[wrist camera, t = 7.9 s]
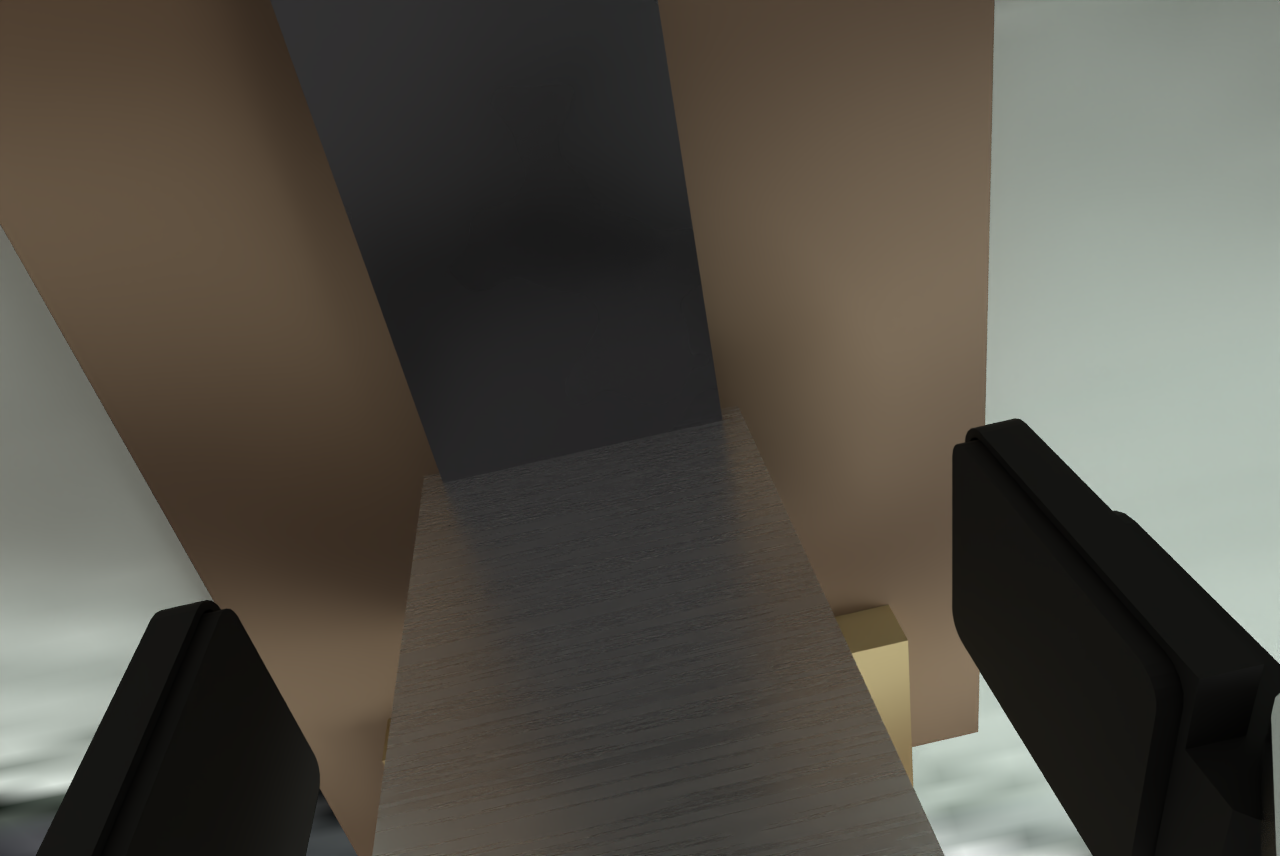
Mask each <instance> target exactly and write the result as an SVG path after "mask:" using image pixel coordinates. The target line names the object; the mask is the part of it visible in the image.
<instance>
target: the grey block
mask: <svg viewBox="0 0 1280 856" xmlns="http://www.w3.org/2000/svg"><path fill="white" fill-rule="evenodd" d="M270 1H271V4H272V7H273V9H274V12H275V15H276V18H277V21H278V23H279V26H280V29H281V32H282V35H283V37H284V40H285V43H286V46H287V48H288V51H289V54H290V57H291V60H292V62H293V65H294V68H295V71H296V74H297V76H298V79H299V82H300V85H301V88H302V90H303V93H304V96H305V99H306V102H307V104H308V107H309V110H310V113H311V116H312V118H313V121H314V124H315V127H316V130H317V132H318V135H319V138H320V141H321V143H322V146H323V149H324V152H325V155H326V157H327V160H328V163H329V166H330V169H331V171H332V174H333V177H334V180H335V183H336V185H337V188H338V191H339V194H340V197H341V199H342V202H343V205H344V208H345V211H346V213H347V216H348V219H349V222H350V225H351V227H352V230H353V233H354V236H355V238H356V241H357V244H358V247H359V250H360V252H361V255H362V258H363V261H364V264H365V266H366V269H367V272H368V275H369V278H370V280H371V283H372V286H373V289H374V292H375V294H376V297H377V300H378V303H379V306H380V308H381V311H382V314H383V317H384V320H385V322H386V325H387V328H388V331H389V333H390V336H391V339H392V342H393V345H394V347H395V350H396V353H397V356H398V359H399V361H400V364H401V367H402V370H403V373H404V375H405V378H406V381H407V384H408V387H409V389H410V392H411V395H412V398H413V401H414V403H415V406H416V409H417V412H418V415H419V417H420V420H421V423H422V426H423V428H424V431H425V434H426V437H427V440H428V442H429V445H430V448H431V451H432V454H433V456H434V459H435V462H436V465H437V468H438V470H439V473H435V474H430V475H426V476H424V481H423V489H422V496H421V503H420V511H419V518H418V525H417V532H416V540H415V547H414V554H413V562H412V569H411V576H410V584H409V591H408V598H407V605H406V613H405V620H404V627H403V635H402V642H401V649H400V656H399V664H398V671H397V678H396V686H395V693H394V700H393V707H392V715H391V722H390V729H389V737H388V744H387V751H386V759H385V766H384V773H383V780H382V788H381V795H380V802H379V810H378V817H377V824H376V831H375V839H374V846H373V853H372V856H944V854H943V851H942V849H941V847H940V845H939V843H938V840H937V838H936V836H935V834H934V832H933V830H932V827H931V825H930V823H929V821H928V819H927V817H926V814H925V812H924V810H923V808H922V806H921V803H920V801H919V799H918V797H917V795H916V793H915V790H914V788H913V786H912V784H911V782H910V779H909V777H908V775H907V773H906V771H905V769H904V766H903V764H902V762H901V760H900V758H899V756H898V753H897V751H896V749H895V747H894V745H893V742H892V740H891V738H890V736H889V734H888V732H887V729H886V727H885V725H884V723H883V721H882V719H881V716H880V714H879V712H878V710H877V708H876V705H875V703H874V701H873V699H872V697H871V695H870V692H869V690H868V688H867V686H866V684H865V682H864V679H863V677H862V675H861V673H860V671H859V668H858V666H857V664H856V662H855V660H854V658H853V655H852V653H851V651H850V649H849V647H848V645H847V642H846V640H845V638H844V636H843V634H842V631H841V629H840V627H839V625H838V623H837V621H836V618H835V616H834V614H833V612H832V610H831V608H830V605H829V603H828V601H827V599H826V597H825V594H824V592H823V590H822V588H821V586H820V584H819V581H818V579H817V577H816V575H815V573H814V571H813V568H812V566H811V564H810V562H809V560H808V557H807V555H806V553H805V551H804V549H803V547H802V544H801V542H800V540H799V538H798V536H797V534H796V531H795V529H794V527H793V525H792V523H791V520H790V518H789V516H788V514H787V512H786V510H785V507H784V505H783V503H782V501H781V499H780V497H779V494H778V492H777V490H776V488H775V486H774V483H773V481H772V479H771V477H770V475H769V473H768V470H767V468H766V466H765V464H764V462H763V459H762V457H761V455H760V453H759V451H758V449H757V446H756V444H755V442H754V440H753V438H752V436H751V433H750V431H749V429H748V427H747V425H746V422H745V420H744V418H743V416H742V414H741V412H740V409H739V407H738V406H735V407H731V408H726V409H722V410H721V407H720V401H719V394H718V388H717V381H716V375H715V368H714V362H713V355H712V349H711V342H710V336H709V329H708V323H707V316H706V310H705V303H704V297H703V290H702V284H701V278H700V271H699V265H698V258H697V252H696V245H695V239H694V232H693V226H692V219H691V213H690V206H689V200H688V193H687V187H686V180H685V174H684V167H683V161H682V154H681V148H680V141H679V135H678V129H677V122H676V116H675V109H674V103H673V96H672V90H671V83H670V77H669V70H668V64H667V57H666V51H665V44H664V38H663V31H662V25H661V18H660V12H659V5H658V0H270Z"/></svg>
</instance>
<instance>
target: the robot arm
mask: <svg viewBox="0 0 1280 856" xmlns="http://www.w3.org/2000/svg"><path fill="white" fill-rule="evenodd" d="M952 614H953V620H954V624H955V627H956V631H957V633H958V636H959V638H960V640H961V642H962V643H963V645H964V647H965V648H966V650H967V652H968V653H969V655H970V656H971V658H972V660H973V661H974V663H975V665H976V666H977V668H978V669H979V671H980V673H981V674H982V676H983V678H984V679H985V681H986V682H987V684H988V686H989V687H990V689H991V691H992V692H993V694H994V695H995V697H996V699H997V700H998V702H999V704H1000V705H1001V707H1002V709H1003V710H1004V712H1005V713H1006V715H1007V717H1008V718H1009V720H1010V722H1011V723H1012V725H1013V726H1014V728H1015V730H1016V731H1017V733H1018V735H1019V736H1020V738H1021V739H1022V741H1023V743H1024V744H1025V746H1026V748H1027V749H1028V751H1029V752H1030V754H1031V756H1032V757H1033V759H1034V761H1035V762H1036V764H1037V766H1038V767H1039V769H1040V770H1041V772H1042V774H1043V775H1044V777H1045V779H1046V780H1047V782H1048V783H1049V785H1050V787H1051V788H1052V790H1053V792H1054V793H1055V795H1056V796H1057V798H1058V800H1059V801H1060V803H1061V805H1062V806H1063V808H1064V810H1065V811H1066V813H1067V814H1068V816H1069V818H1070V819H1071V821H1072V823H1073V824H1074V826H1075V827H1076V829H1077V831H1078V832H1079V834H1080V836H1081V837H1082V839H1083V840H1084V842H1085V844H1086V845H1087V847H1088V849H1089V850H1090V852H1091V853H1092V855H1093V856H1280V664H1279V663H1278V662H1277V661H1276V660H1275V659H1274V658H1273V657H1272V656H1271V655H1270V654H1269V653H1268V652H1267V651H1266V650H1265V649H1264V648H1263V647H1262V646H1261V645H1260V644H1259V643H1258V642H1257V641H1256V640H1255V639H1254V638H1253V637H1252V636H1251V635H1250V634H1249V633H1248V632H1247V631H1246V630H1245V629H1244V628H1243V627H1242V626H1241V625H1240V624H1239V623H1238V622H1237V621H1236V620H1235V619H1234V618H1232V617H1231V616H1230V615H1229V614H1228V613H1227V612H1226V611H1225V610H1224V609H1223V608H1222V607H1221V606H1220V605H1219V604H1218V603H1217V602H1216V601H1215V600H1214V599H1213V598H1212V597H1211V596H1210V595H1209V594H1208V593H1207V592H1206V591H1205V590H1204V589H1203V588H1202V587H1201V586H1200V585H1199V584H1198V583H1197V582H1196V581H1195V580H1194V579H1193V578H1192V577H1191V576H1190V575H1189V574H1188V573H1187V572H1186V571H1185V570H1184V569H1183V568H1182V567H1181V566H1180V565H1179V564H1178V563H1177V562H1176V561H1175V560H1174V559H1173V558H1172V557H1171V556H1170V555H1169V554H1168V553H1167V552H1166V551H1165V550H1164V549H1163V548H1162V547H1161V546H1160V545H1159V544H1158V543H1157V542H1156V541H1155V540H1154V539H1153V538H1152V537H1151V536H1150V535H1149V534H1148V533H1147V532H1146V531H1145V530H1144V529H1143V528H1142V527H1141V526H1140V525H1139V524H1138V523H1137V522H1135V521H1134V520H1133V519H1132V518H1130V517H1129V516H1128V515H1126V514H1125V513H1122V512H1118V511H1112V510H1111V509H1110V508H1109V507H1108V506H1107V505H1106V504H1105V503H1104V502H1103V501H1102V500H1101V499H1100V498H1099V497H1098V496H1097V495H1096V494H1095V493H1094V492H1093V491H1092V490H1091V489H1090V488H1089V487H1088V486H1087V485H1086V484H1085V483H1084V482H1083V481H1082V480H1081V479H1080V478H1079V477H1078V475H1077V474H1076V473H1075V472H1074V471H1073V470H1072V469H1071V468H1070V467H1069V466H1068V465H1067V464H1066V463H1065V462H1064V461H1063V460H1062V459H1061V458H1060V457H1059V456H1058V455H1057V454H1056V453H1055V452H1054V451H1053V450H1052V449H1051V448H1050V447H1049V446H1048V445H1047V444H1046V443H1045V442H1044V441H1043V440H1042V439H1041V438H1040V437H1039V436H1038V435H1037V434H1036V433H1035V432H1034V431H1033V430H1032V429H1031V428H1030V427H1029V426H1028V425H1027V424H1026V423H1025V422H1023V421H1022V420H1021V419H1011V420H1006V421H1002V422H997V423H993V424H988V425H984V426H980V427H975V428H971V429H970V430H968V432H967V434H966V437H965V442H964V443H960V444H956V445H955V446H954V448H953V453H952ZM319 788H320V772H319V766H318V762H317V759H316V757H315V754H314V753H313V751H312V749H311V747H310V745H309V744H308V742H307V740H306V738H305V736H304V735H303V733H302V731H301V729H300V727H299V726H298V724H297V722H296V720H295V718H294V717H293V715H292V713H291V711H290V709H289V708H288V706H287V704H286V702H285V700H284V698H283V697H282V695H281V693H280V691H279V689H278V688H277V686H276V684H275V682H274V680H273V679H272V677H271V675H270V673H269V671H268V670H267V668H266V666H265V664H264V662H263V661H262V659H261V657H260V655H259V653H258V652H257V650H256V648H255V646H254V644H253V643H252V641H251V639H250V637H249V635H248V634H247V632H246V630H245V628H244V626H243V625H242V623H241V621H240V619H239V617H238V616H237V614H236V613H235V612H234V611H233V610H231V609H227V608H226V609H222V610H221V609H220V607H219V606H218V605H217V604H216V603H214V602H213V601H209V600H205V601H201V602H196V603H192V604H187V605H183V606H178V607H174V608H169V609H165V610H161V611H159V612H157V613H155V615H154V616H153V617H152V619H151V620H150V622H149V624H148V627H147V629H146V631H145V633H144V635H143V637H142V639H141V641H140V643H139V645H138V647H137V649H136V651H135V653H134V655H133V657H132V659H131V661H130V663H129V665H128V668H127V670H126V672H125V674H124V676H123V678H122V680H121V682H120V684H119V686H118V688H117V690H116V692H115V694H114V696H113V698H112V700H111V702H110V704H109V706H108V709H107V711H106V713H105V715H104V717H103V719H102V721H101V723H100V725H99V727H98V729H97V731H96V733H95V735H94V737H93V739H92V741H91V743H90V745H89V747H88V750H87V752H86V754H85V756H84V758H83V760H82V762H81V764H80V766H79V768H78V770H77V772H76V774H75V776H74V778H73V780H72V782H71V784H70V786H69V788H68V791H67V793H66V795H65V797H64V799H63V801H62V803H61V805H60V807H59V809H58V811H57V813H56V815H55V817H54V819H53V821H52V823H51V825H50V827H49V829H48V832H47V834H46V836H45V838H44V840H43V842H42V844H41V846H40V848H39V850H38V852H37V854H36V856H306V852H307V847H308V842H309V837H310V833H311V828H312V823H313V818H314V813H315V808H316V803H317V799H318V794H319Z"/></svg>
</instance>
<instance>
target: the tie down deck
mask: <svg viewBox="0 0 1280 856" xmlns="http://www.w3.org/2000/svg"><path fill="white" fill-rule="evenodd" d="M658 5H659V12H660V18H661V25H662V31H663V38H664V44H665V51H666V57H667V64H668V70H669V77H670V83H671V90H672V96H673V103H674V109H675V116H676V122H677V129H678V135H679V141H680V148H681V154H682V161H683V167H684V174H685V180H686V187H687V193H688V200H689V206H690V213H691V219H692V226H693V232H694V239H695V245H696V252H697V258H698V265H699V271H700V278H701V284H702V290H703V297H704V303H705V310H706V316H707V323H708V329H709V336H710V342H711V349H712V355H713V362H714V368H715V375H716V381H717V388H718V394H719V401H720V407H721V410H722V409H726V408H731V407H735V406H738V407H739V409H740V412H741V414H742V416H743V418H744V420H745V422H746V425H747V427H748V429H749V431H750V433H751V436H752V438H753V440H754V442H755V444H756V446H757V449H758V451H759V453H760V455H761V457H762V459H763V462H764V464H765V466H766V468H767V470H768V473H769V475H770V477H771V479H772V481H773V483H774V486H775V488H776V490H777V492H778V494H779V497H780V499H781V501H782V503H783V505H784V507H785V510H786V512H787V514H788V516H789V518H790V520H791V523H792V525H793V527H794V529H795V531H796V534H797V536H798V538H799V540H800V542H801V544H802V547H803V549H804V551H805V553H806V555H807V557H808V560H809V562H810V564H811V566H812V568H813V571H814V573H815V575H816V577H817V579H818V581H819V584H820V586H821V588H822V590H823V592H824V594H825V597H826V599H827V601H828V603H829V605H830V608H831V610H832V612H833V614H834V616H835V618H836V621H837V623H838V625H839V627H840V629H841V631H842V634H843V636H844V638H845V640H846V642H847V645H848V647H849V649H850V651H851V653H852V655H853V658H854V660H855V662H856V664H857V666H858V668H859V671H860V673H861V675H862V677H863V679H864V682H865V684H866V686H867V688H868V690H869V692H870V695H871V697H872V699H873V701H874V703H875V705H876V708H877V710H878V712H879V714H880V716H881V719H882V721H883V723H884V725H885V727H886V729H887V732H888V734H889V736H890V738H891V740H892V742H893V745H894V747H895V749H896V751H897V753H898V756H899V758H900V760H901V762H902V764H903V766H904V769H905V771H906V773H907V775H908V777H909V779H910V782H911V784H912V786H913V769H912V747H915V746H919V745H923V744H928V743H932V742H936V741H941V740H945V739H949V738H954V737H958V736H962V735H967V734H971V733H975V732H978V710H979V669H978V668H977V666H976V665H975V663H974V661H973V660H972V658H971V656H970V655H969V653H968V652H967V650H966V648H965V647H964V645H963V643H962V642H961V640H960V638H959V636H958V633H957V631H956V627H955V624H954V620H953V614H952V453H953V448H954V446H955V445H956V444H960V443H964V442H965V437H966V434H967V432H968V430H970V429H971V428H975V427H980V426H984V425H985V400H986V355H987V311H988V267H989V222H990V178H991V134H992V89H993V45H994V0H658ZM0 224H1V226H2V228H3V230H4V232H5V233H6V235H7V237H8V239H9V240H10V242H11V244H12V246H13V247H14V249H15V251H16V253H17V255H18V256H19V258H20V260H21V262H22V263H23V265H24V267H25V269H26V270H27V272H28V274H29V276H30V277H31V279H32V281H33V283H34V285H35V286H36V288H37V290H38V292H39V293H40V295H41V297H42V299H43V300H44V302H45V304H46V306H47V307H48V309H49V311H50V313H51V315H52V316H53V318H54V320H55V322H56V323H57V325H58V327H59V329H60V330H61V332H62V334H63V336H64V338H65V339H66V341H67V343H68V345H69V346H70V348H71V350H72V352H73V353H74V355H75V357H76V359H77V360H78V362H79V364H80V366H81V368H82V369H83V371H84V373H85V375H86V376H87V378H88V380H89V382H90V383H91V385H92V387H93V389H94V390H95V392H96V394H97V396H98V398H99V399H100V401H101V403H102V405H103V406H104V408H105V410H106V412H107V413H108V415H109V417H110V419H111V421H112V422H113V424H114V426H115V428H116V429H117V431H118V433H119V435H120V436H121V438H122V440H123V442H124V443H125V445H126V447H127V449H128V451H129V452H130V454H131V456H132V458H133V459H134V461H135V463H136V465H137V466H138V468H139V470H140V472H141V473H142V475H143V477H144V479H145V481H146V482H147V484H148V486H149V488H150V489H151V491H152V493H153V495H154V496H155V498H156V500H157V502H158V504H159V505H160V507H161V509H162V511H163V512H164V514H165V516H166V518H167V519H168V521H169V523H170V525H171V526H172V528H173V530H174V532H175V534H176V535H177V537H178V539H179V541H180V542H181V544H182V546H183V548H184V549H185V551H186V553H187V555H188V556H189V558H190V560H191V562H192V564H193V565H194V567H195V569H196V571H197V572H198V574H199V576H200V578H201V579H202V581H203V583H204V585H205V587H206V588H207V590H208V592H209V594H210V595H211V597H212V599H213V601H214V602H215V603H216V604H217V605H218V606H219V607H220V609H221V610H222V609H226V608H227V609H231V610H233V611H234V612H235V613H236V614H237V616H238V617H239V619H240V621H241V623H242V625H243V626H244V628H245V630H246V632H247V634H248V635H249V637H250V639H251V641H252V643H253V644H254V646H255V648H256V650H257V652H258V653H259V655H260V657H261V659H262V661H263V662H264V664H265V666H266V668H267V670H268V671H269V673H270V675H271V677H272V679H273V680H274V682H275V684H276V686H277V688H278V689H279V691H280V693H281V695H282V697H283V698H284V700H285V702H286V704H287V706H288V708H289V709H290V711H291V713H292V715H293V717H294V718H295V720H296V722H297V724H298V726H299V727H300V729H301V731H302V733H303V735H304V736H305V738H306V740H307V742H308V744H309V745H310V747H311V749H312V751H313V753H314V754H315V757H316V759H317V762H318V766H319V772H320V790H321V791H322V793H323V795H324V797H325V798H326V800H327V802H328V804H329V805H330V807H331V809H332V811H333V813H334V814H335V816H336V818H337V820H338V821H339V823H340V825H341V827H342V828H343V830H344V832H345V834H346V836H347V837H348V839H349V841H350V843H351V844H352V846H353V848H354V850H355V851H356V853H357V855H358V856H372V853H373V846H374V839H375V831H376V824H377V817H378V810H379V802H380V795H381V788H382V780H383V773H384V766H385V759H386V751H387V744H388V737H389V729H390V722H391V715H392V707H393V700H394V693H395V686H396V678H397V671H398V664H399V656H400V649H401V642H402V635H403V627H404V620H405V613H406V605H407V598H408V591H409V584H410V576H411V569H412V562H413V554H414V547H415V540H416V532H417V525H418V518H419V511H420V503H421V496H422V489H423V481H424V476H426V475H430V474H435V473H439V470H438V468H437V465H436V462H435V459H434V456H433V454H432V451H431V448H430V445H429V442H428V440H427V437H426V434H425V431H424V428H423V426H422V423H421V420H420V417H419V415H418V412H417V409H416V406H415V403H414V401H413V398H412V395H411V392H410V389H409V387H408V384H407V381H406V378H405V375H404V373H403V370H402V367H401V364H400V361H399V359H398V356H397V353H396V350H395V347H394V345H393V342H392V339H391V336H390V333H389V331H388V328H387V325H386V322H385V320H384V317H383V314H382V311H381V308H380V306H379V303H378V300H377V297H376V294H375V292H374V289H373V286H372V283H371V280H370V278H369V275H368V272H367V269H366V266H365V264H364V261H363V258H362V255H361V252H360V250H359V247H358V244H357V241H356V238H355V236H354V233H353V230H352V227H351V225H350V222H349V219H348V216H347V213H346V211H345V208H344V205H343V202H342V199H341V197H340V194H339V191H338V188H337V185H336V183H335V180H334V177H333V174H332V171H331V169H330V166H329V163H328V160H327V157H326V155H325V152H324V149H323V146H322V143H321V141H320V138H319V135H318V132H317V130H316V127H315V124H314V121H313V118H312V116H311V113H310V110H309V107H308V104H307V102H306V99H305V96H304V93H303V90H302V88H301V85H300V82H299V79H298V76H297V74H296V71H295V68H294V65H293V62H292V60H291V57H290V54H289V51H288V48H287V46H286V43H285V40H284V37H283V35H282V32H281V29H280V26H279V23H278V21H277V18H276V15H275V12H274V9H273V7H272V4H271V1H270V0H0Z"/></svg>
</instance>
